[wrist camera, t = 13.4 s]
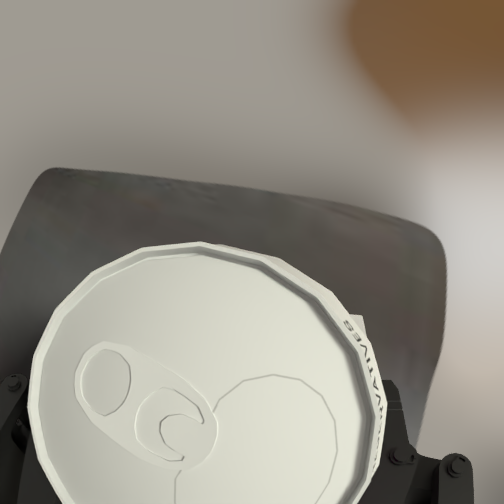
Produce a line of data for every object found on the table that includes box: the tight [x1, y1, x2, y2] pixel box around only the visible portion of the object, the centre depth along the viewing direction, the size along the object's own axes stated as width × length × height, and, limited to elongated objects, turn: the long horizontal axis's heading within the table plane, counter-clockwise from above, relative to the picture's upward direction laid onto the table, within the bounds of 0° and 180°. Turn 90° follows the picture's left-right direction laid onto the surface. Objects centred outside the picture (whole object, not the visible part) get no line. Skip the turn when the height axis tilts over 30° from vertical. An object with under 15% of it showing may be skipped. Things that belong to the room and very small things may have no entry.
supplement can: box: [27, 242, 387, 504], centre depth 11 cm, size 8×8×15 cm
